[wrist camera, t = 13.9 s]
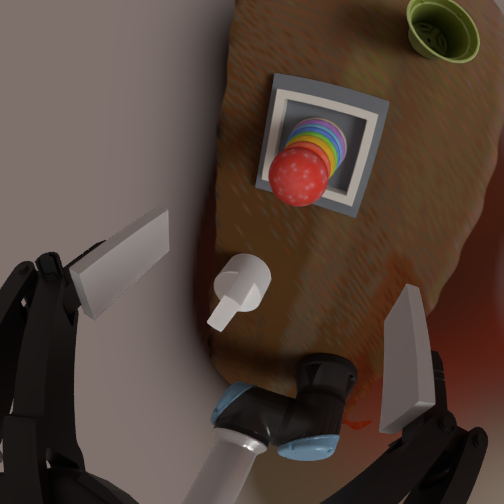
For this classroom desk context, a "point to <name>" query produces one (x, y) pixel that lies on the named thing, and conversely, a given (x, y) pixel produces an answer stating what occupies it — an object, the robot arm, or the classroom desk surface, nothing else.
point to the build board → (344, 116)
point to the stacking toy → (307, 161)
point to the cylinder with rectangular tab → (239, 288)
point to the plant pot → (442, 30)
